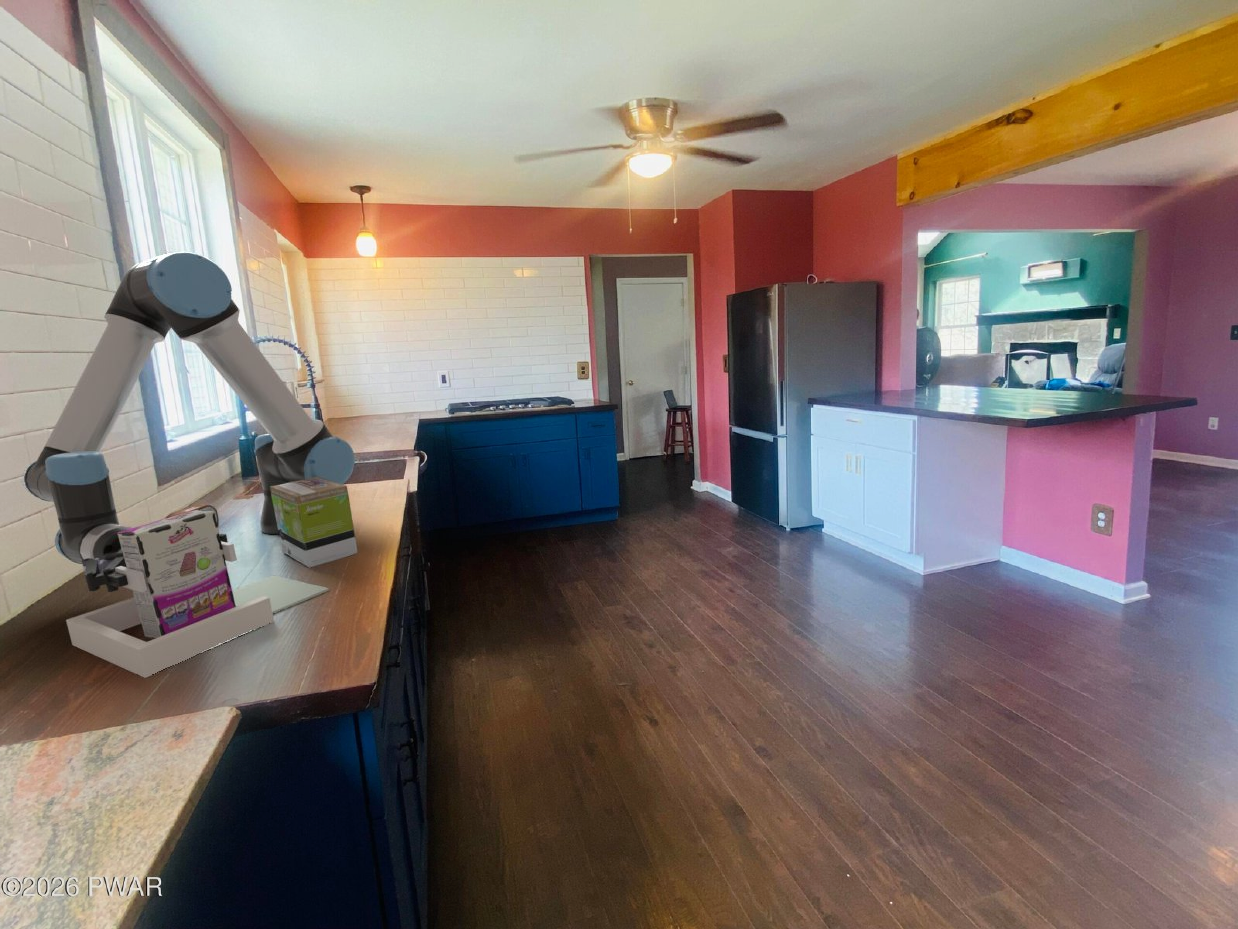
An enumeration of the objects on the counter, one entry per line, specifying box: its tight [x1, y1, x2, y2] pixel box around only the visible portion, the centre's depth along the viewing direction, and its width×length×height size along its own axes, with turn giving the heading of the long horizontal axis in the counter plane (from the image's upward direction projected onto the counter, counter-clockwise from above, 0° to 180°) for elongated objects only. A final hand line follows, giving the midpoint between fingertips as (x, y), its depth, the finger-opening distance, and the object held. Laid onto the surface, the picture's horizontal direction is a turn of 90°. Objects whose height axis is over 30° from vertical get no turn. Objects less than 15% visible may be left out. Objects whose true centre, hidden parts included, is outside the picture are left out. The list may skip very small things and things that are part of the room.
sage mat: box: [232, 575, 330, 614], centre depth 102 cm, size 11×16×1 cm
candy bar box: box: [117, 510, 236, 640], centre depth 89 cm, size 11×5×16 cm, turn 159°
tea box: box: [270, 477, 358, 569], centre depth 121 cm, size 15×10×15 cm
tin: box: [164, 503, 220, 527], centre depth 134 cm, size 15×3×8 cm, turn 178°
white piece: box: [65, 596, 275, 679], centre depth 89 cm, size 17×22×4 cm
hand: (190, 566), depth 87 cm, fingers closed on candy bar box, 11 cm apart
